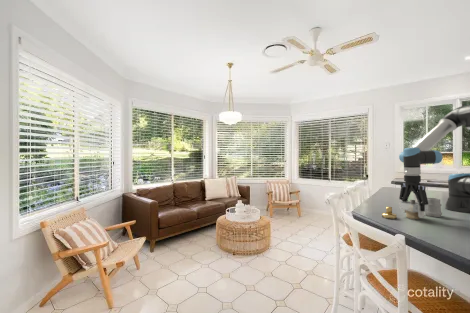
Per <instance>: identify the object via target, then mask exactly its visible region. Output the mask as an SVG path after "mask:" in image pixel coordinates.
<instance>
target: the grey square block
mask: <svg viewBox="0 0 470 313" xmlns="http://www.w3.org/2000/svg"><path fill="white" fill-rule="evenodd" d="M418 204H419V202H417V201H415V204H411V203H410V200H408V201H406V202H403V201H399V202H398V205H399V207H398V208H399V210H406V211H410V212H418ZM425 212H428V205H425V211H424V213H425Z"/></svg>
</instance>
